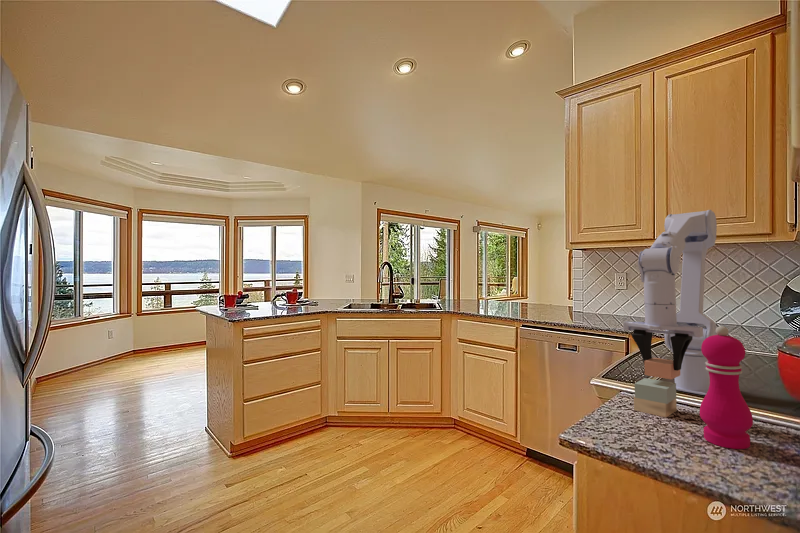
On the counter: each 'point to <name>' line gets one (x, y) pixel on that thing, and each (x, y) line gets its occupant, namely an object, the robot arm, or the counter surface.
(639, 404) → the base block
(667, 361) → the terracotta block
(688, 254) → the robot arm
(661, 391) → the middle block
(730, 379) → the pepper mill
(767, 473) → the counter surface
